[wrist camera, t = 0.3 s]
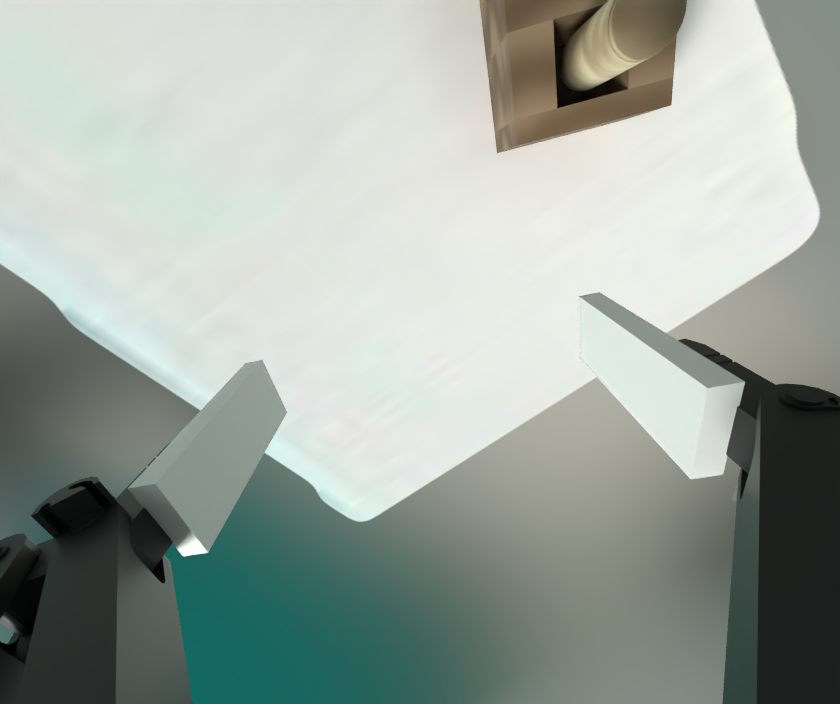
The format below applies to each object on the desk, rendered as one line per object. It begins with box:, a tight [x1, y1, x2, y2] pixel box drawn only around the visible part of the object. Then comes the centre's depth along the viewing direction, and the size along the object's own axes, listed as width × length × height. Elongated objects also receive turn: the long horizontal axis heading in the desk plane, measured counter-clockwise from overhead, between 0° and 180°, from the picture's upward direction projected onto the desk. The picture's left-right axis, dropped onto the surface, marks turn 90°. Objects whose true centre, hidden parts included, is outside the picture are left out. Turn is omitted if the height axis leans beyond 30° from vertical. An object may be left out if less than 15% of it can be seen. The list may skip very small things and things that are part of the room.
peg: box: [560, 0, 687, 92], centre depth 23 cm, size 4×4×8 cm
